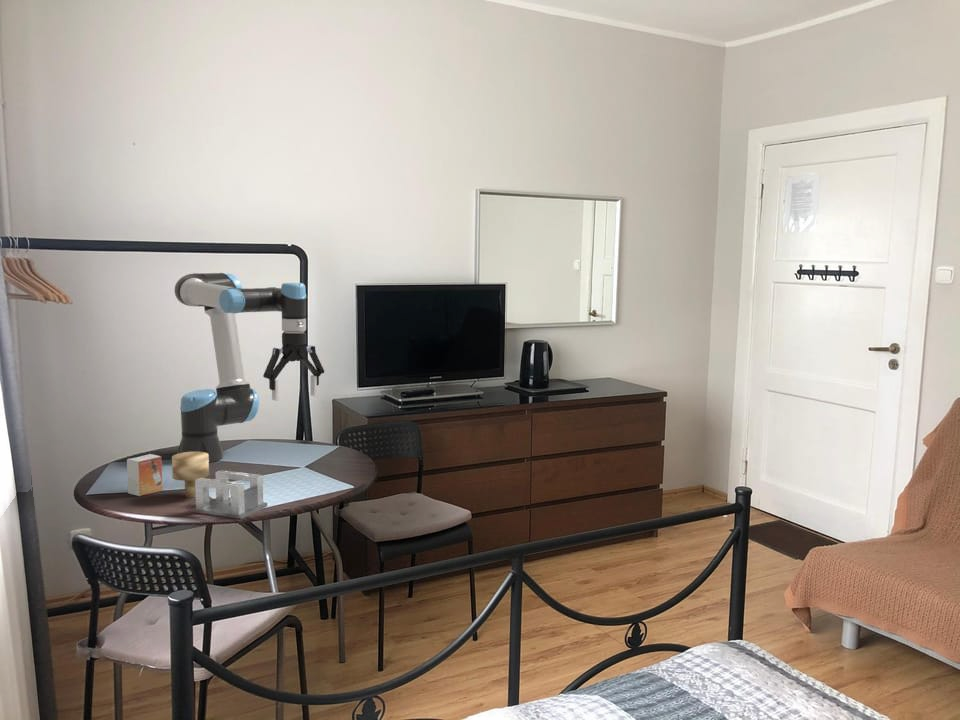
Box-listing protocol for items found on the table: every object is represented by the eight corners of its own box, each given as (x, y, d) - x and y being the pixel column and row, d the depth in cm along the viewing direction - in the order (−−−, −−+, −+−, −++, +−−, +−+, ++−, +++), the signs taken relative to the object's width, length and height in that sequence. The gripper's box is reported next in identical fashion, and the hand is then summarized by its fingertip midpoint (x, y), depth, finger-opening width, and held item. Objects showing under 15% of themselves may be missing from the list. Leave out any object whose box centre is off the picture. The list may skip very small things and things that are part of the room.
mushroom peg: (165, 498, 226) (164, 458, 225) (189, 489, 236) (187, 450, 234) (194, 502, 223) (192, 461, 222) (216, 492, 233) (215, 453, 231)
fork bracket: (191, 512, 215) (190, 480, 214) (220, 499, 226) (219, 469, 225) (241, 519, 210) (240, 486, 209) (267, 506, 221) (266, 475, 220)
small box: (139, 497, 228) (137, 461, 226) (127, 493, 231) (126, 458, 229) (163, 490, 235) (162, 456, 233) (151, 487, 237) (150, 453, 236)
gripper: (262, 334, 238) (263, 403, 240) (334, 331, 254) (334, 395, 257) (251, 332, 243) (252, 400, 246) (322, 329, 259) (323, 392, 262)
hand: (294, 397), depth 251 cm, fingers open, 13 cm apart
